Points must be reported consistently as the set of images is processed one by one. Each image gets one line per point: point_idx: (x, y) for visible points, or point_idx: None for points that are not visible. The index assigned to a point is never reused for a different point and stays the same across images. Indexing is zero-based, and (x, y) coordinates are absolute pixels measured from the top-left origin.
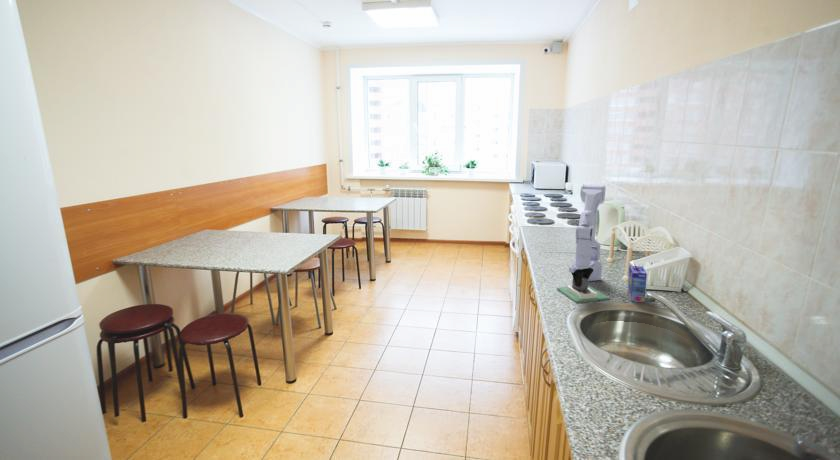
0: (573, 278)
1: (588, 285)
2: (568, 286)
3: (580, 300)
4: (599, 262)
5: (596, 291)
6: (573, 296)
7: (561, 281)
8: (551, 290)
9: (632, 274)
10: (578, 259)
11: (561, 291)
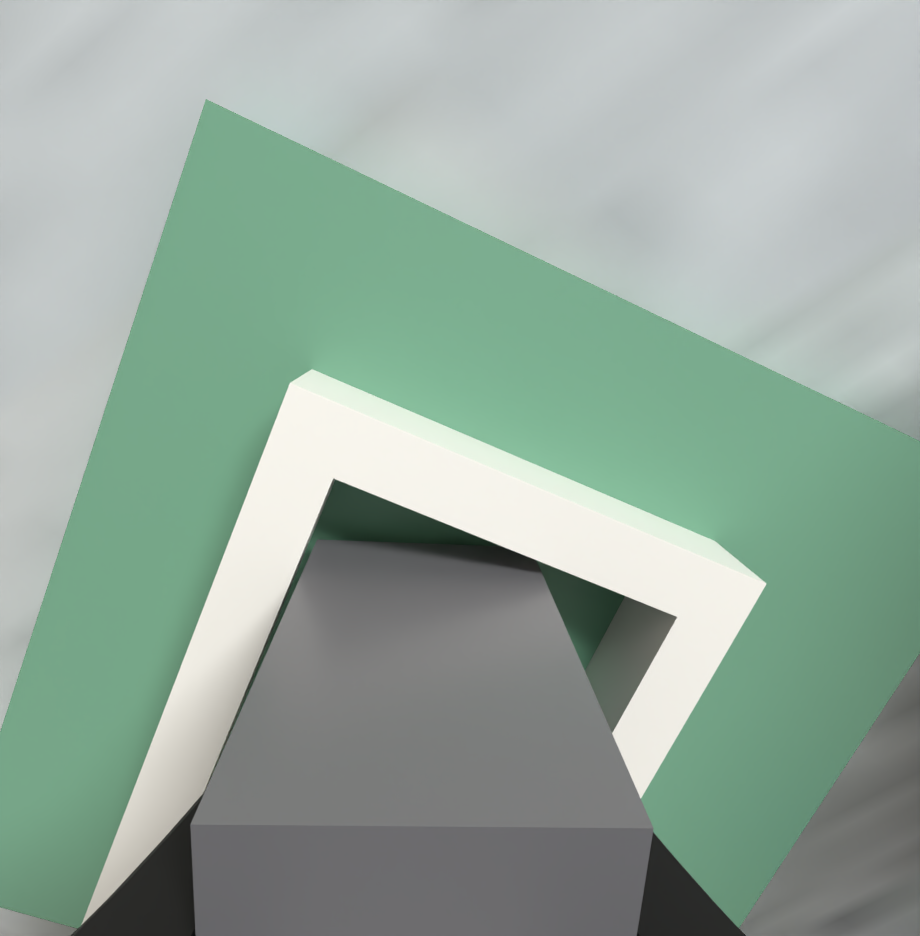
0: (216, 809)
1: None
2: (286, 454)
3: (50, 917)
4: None
5: (751, 819)
6: (99, 723)
7: None
8: (40, 53)
9: None
10: None
11: (135, 340)
